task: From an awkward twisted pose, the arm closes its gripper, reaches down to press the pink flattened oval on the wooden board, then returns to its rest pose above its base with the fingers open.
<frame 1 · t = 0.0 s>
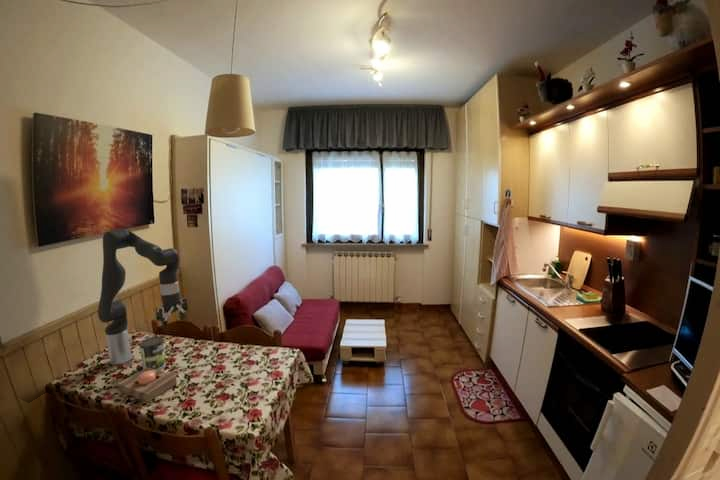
hand: (174, 323, 147), 29 cm above the table, tool pointing down, fingers open, 8 cm apart
pink flattened oval: (147, 379, 146), point 4 cm above the table, slide at 0.0 cm
coffee can: (154, 366, 164), on the table
wooden board: (148, 387, 147), on the table
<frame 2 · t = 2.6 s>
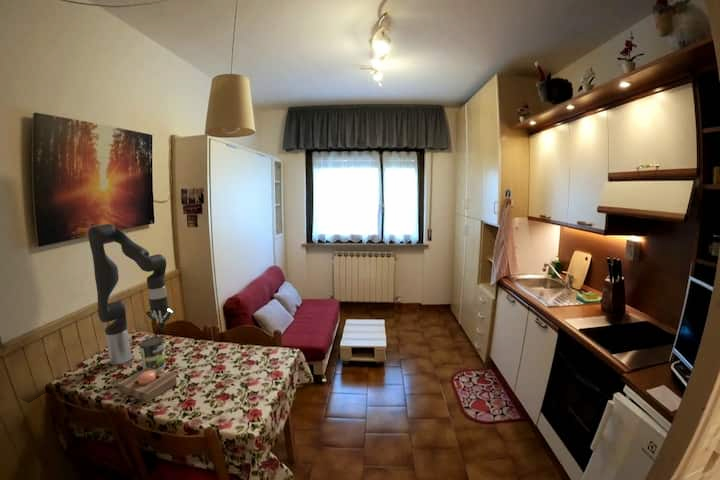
hand: (162, 329, 153), 24 cm above the table, tool pointing down, fingers closed
nothing on the table moved.
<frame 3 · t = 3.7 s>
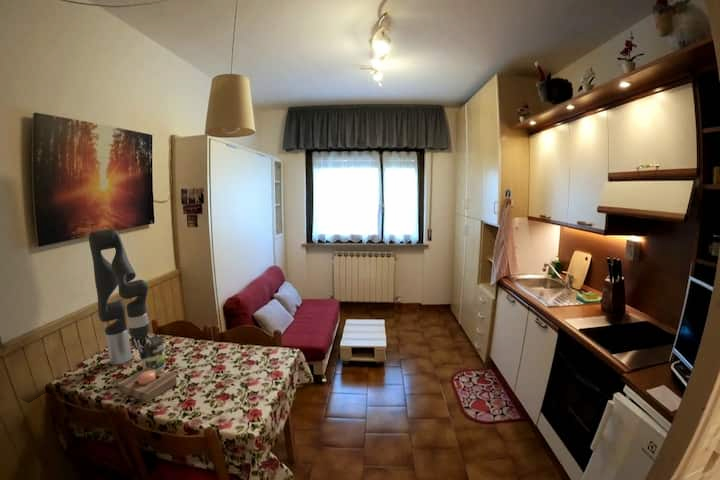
hand: (143, 358, 144), 15 cm above the table, tool pointing down, fingers closed
nothing on the table moved.
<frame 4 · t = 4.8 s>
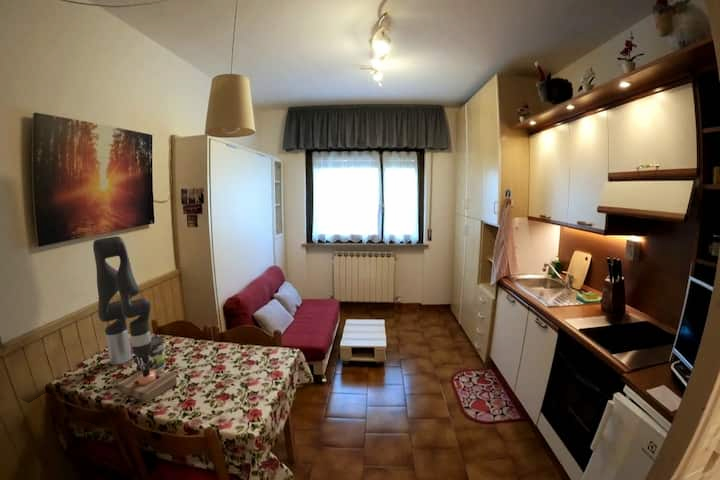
hand: (146, 375, 146), 6 cm above the table, tool pointing down, fingers closed
pink flattened oval: (147, 379, 146), point 4 cm above the table, slide at 0.3 cm, touching gripper
everything else where it was.
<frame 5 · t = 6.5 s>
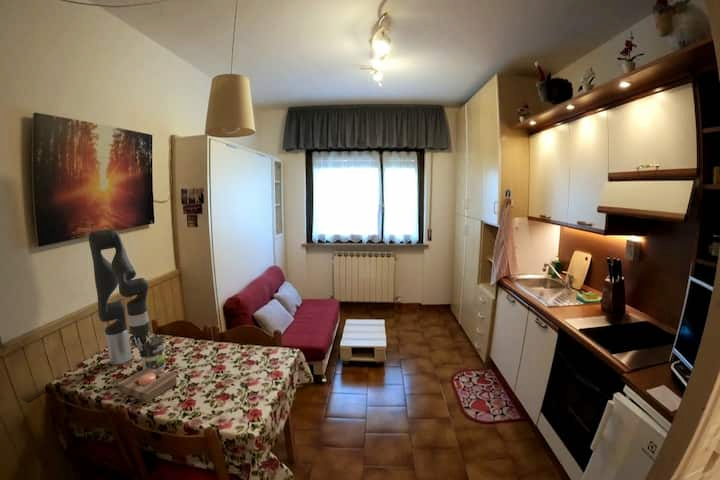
hand: (143, 356, 144), 16 cm above the table, tool pointing down, fingers closed
pink flattened oval: (147, 382, 146), point 3 cm above the table, slide at 1.6 cm
everything else where it was.
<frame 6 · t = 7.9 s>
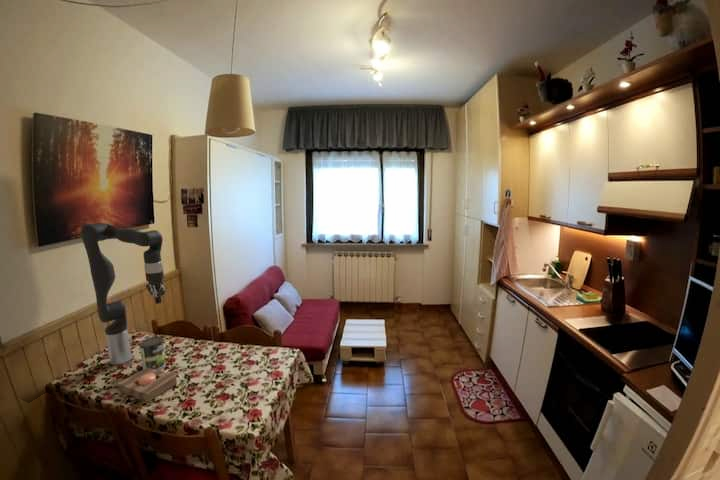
hand: (158, 303, 158), 35 cm above the table, tool pointing down, fingers closed
nothing on the table moved.
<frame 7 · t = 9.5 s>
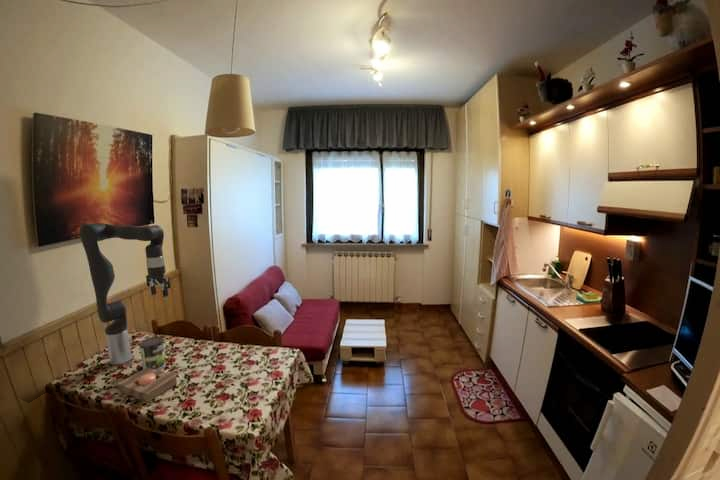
hand: (159, 295, 160), 38 cm above the table, tool pointing down, fingers open, 8 cm apart
nothing on the table moved.
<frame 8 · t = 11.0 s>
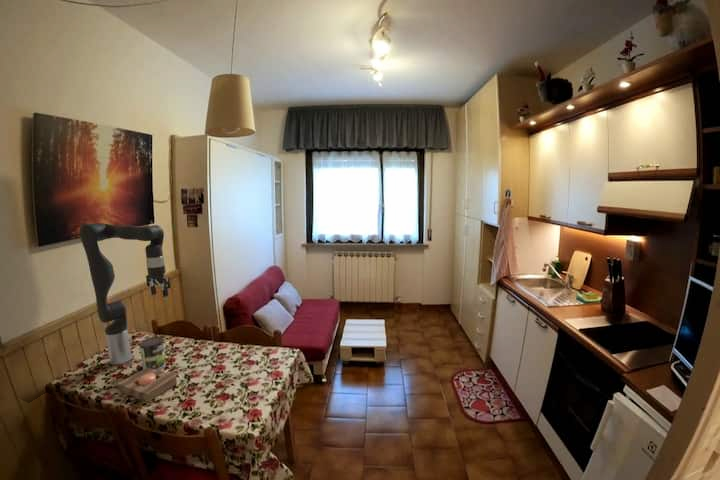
hand: (159, 295, 160), 38 cm above the table, tool pointing down, fingers open, 8 cm apart
nothing on the table moved.
at the end: pink flattened oval slide at 1.6 cm; coffee can moved 0.2 cm from its start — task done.
